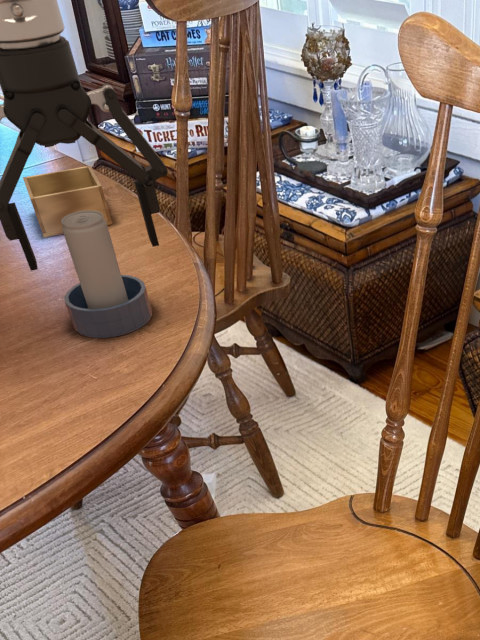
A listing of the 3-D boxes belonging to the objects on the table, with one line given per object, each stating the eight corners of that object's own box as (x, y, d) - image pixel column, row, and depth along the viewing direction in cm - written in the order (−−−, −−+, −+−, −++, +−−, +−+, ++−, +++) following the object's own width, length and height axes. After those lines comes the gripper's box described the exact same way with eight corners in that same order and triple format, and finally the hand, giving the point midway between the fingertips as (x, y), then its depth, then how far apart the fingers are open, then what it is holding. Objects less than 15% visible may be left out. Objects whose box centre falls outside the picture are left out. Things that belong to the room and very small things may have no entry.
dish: (77, 344, 91) (68, 317, 89) (70, 310, 98) (61, 283, 95) (158, 327, 94) (150, 300, 91) (145, 294, 100) (138, 268, 98)
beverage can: (89, 328, 93) (56, 228, 85) (94, 309, 97) (63, 211, 89) (130, 323, 94) (101, 224, 86) (134, 305, 97) (106, 207, 89)
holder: (43, 237, 115) (30, 198, 111) (35, 214, 121) (22, 177, 117) (112, 224, 117) (101, 185, 114) (101, 202, 124) (90, 165, 120)
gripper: (-117, 65, 70) (-20, 289, 84) (162, 29, 76) (208, 244, 90) (-111, 49, 75) (-20, 263, 89) (149, 17, 81) (195, 221, 96)
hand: (95, 253), depth 90 cm, fingers open, 13 cm apart
